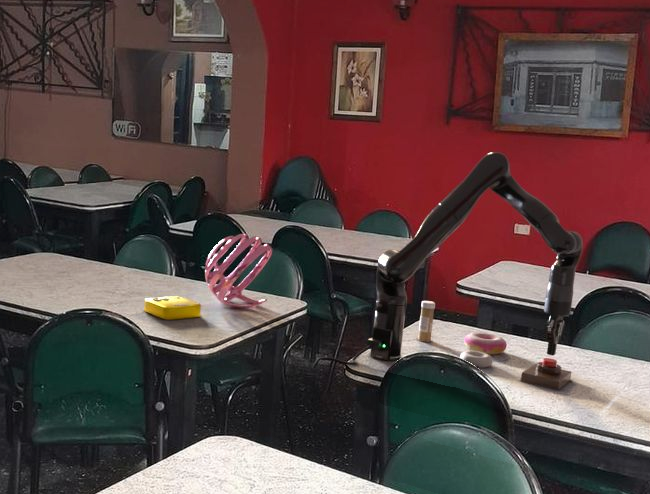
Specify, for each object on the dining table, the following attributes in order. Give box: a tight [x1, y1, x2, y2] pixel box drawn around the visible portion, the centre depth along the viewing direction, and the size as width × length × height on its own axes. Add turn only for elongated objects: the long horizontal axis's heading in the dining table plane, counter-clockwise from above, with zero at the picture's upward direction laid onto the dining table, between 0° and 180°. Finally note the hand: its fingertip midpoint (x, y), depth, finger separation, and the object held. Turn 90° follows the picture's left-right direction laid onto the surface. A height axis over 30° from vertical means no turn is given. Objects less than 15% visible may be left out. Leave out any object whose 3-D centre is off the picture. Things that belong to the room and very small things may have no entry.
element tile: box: [144, 295, 202, 321], centre depth 296 cm, size 15×15×5 cm
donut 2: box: [459, 350, 493, 369], centre depth 266 cm, size 10×4×10 cm
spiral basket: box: [204, 233, 274, 309], centre depth 318 cm, size 28×28×27 cm
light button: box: [542, 357, 558, 368], centre depth 255 cm, size 4×4×2 cm
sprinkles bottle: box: [417, 300, 436, 343], centre depth 290 cm, size 5×5×14 cm
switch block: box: [520, 361, 572, 391], centre depth 254 cm, size 14×11×4 cm
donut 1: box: [464, 332, 507, 356], centre depth 284 cm, size 14×13×5 cm
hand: (550, 354), depth 255 cm, fingers closed
